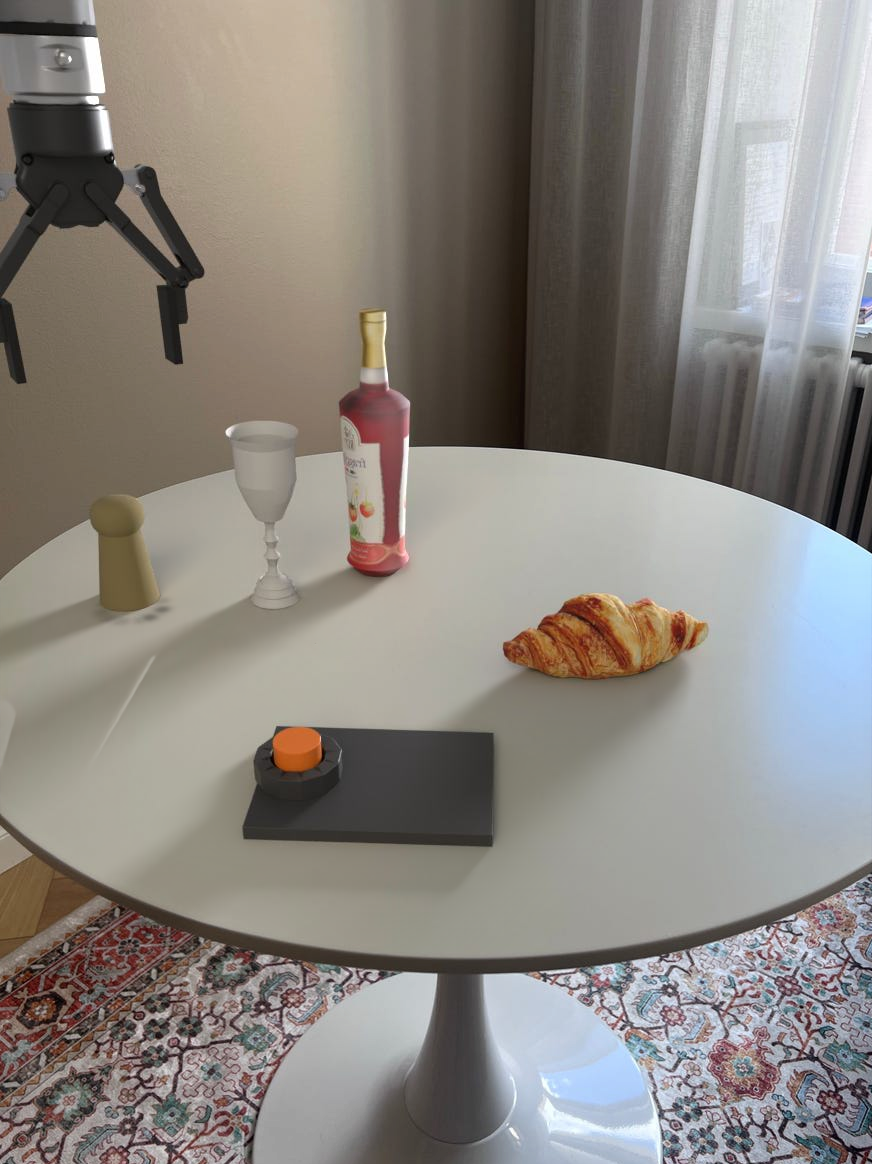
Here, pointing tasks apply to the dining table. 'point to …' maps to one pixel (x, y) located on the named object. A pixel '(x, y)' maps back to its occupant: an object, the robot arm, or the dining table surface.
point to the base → (379, 790)
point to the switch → (297, 749)
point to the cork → (122, 554)
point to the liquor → (375, 457)
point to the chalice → (267, 495)
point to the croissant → (605, 638)
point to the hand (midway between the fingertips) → (99, 370)
